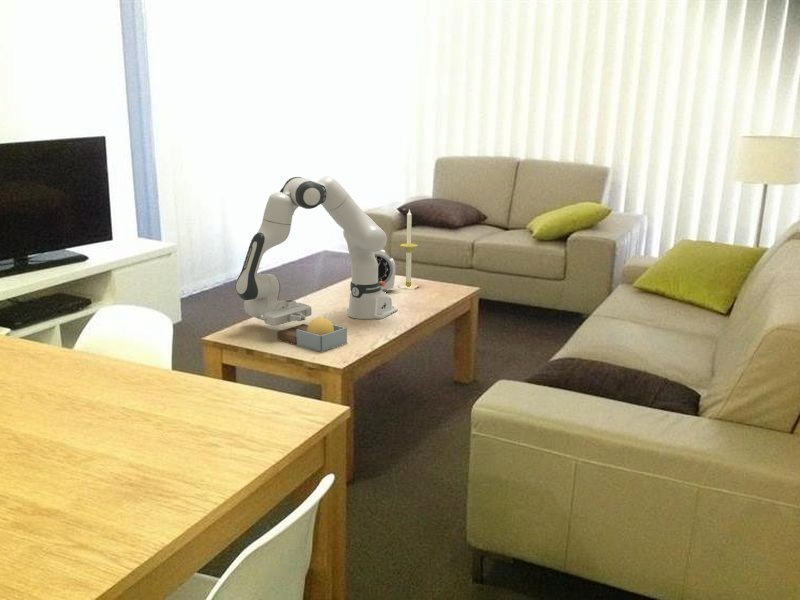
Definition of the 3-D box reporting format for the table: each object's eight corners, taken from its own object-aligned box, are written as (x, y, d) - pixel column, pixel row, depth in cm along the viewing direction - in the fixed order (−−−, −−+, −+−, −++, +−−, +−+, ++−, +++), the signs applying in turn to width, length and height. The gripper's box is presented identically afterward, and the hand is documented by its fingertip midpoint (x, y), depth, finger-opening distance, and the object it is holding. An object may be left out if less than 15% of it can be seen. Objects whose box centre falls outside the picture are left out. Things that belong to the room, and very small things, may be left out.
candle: (421, 288, 381) (422, 210, 372) (401, 289, 379) (402, 210, 369) (415, 283, 391) (416, 206, 381) (395, 285, 388) (396, 207, 378)
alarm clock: (356, 293, 371) (355, 250, 366) (356, 289, 380) (356, 246, 374) (395, 293, 371) (395, 250, 366) (395, 289, 380) (395, 247, 374)
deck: (303, 331, 314) (303, 323, 313) (322, 336, 308) (321, 328, 307) (276, 339, 304) (276, 332, 303) (295, 345, 298) (295, 337, 297)
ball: (338, 315, 296) (341, 342, 296) (322, 317, 303) (325, 343, 303) (316, 318, 289) (318, 345, 289) (300, 319, 297) (303, 346, 297)
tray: (322, 336, 308) (322, 321, 306) (346, 343, 300) (346, 327, 299) (296, 345, 298) (296, 329, 296) (321, 352, 290) (321, 336, 288)
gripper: (256, 309, 302) (282, 316, 294) (295, 299, 318) (321, 305, 309) (257, 325, 304) (282, 332, 296) (296, 314, 319) (321, 320, 311)
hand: (302, 318), depth 303 cm, fingers closed
